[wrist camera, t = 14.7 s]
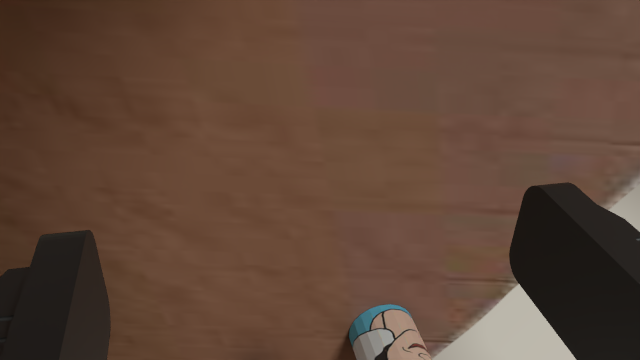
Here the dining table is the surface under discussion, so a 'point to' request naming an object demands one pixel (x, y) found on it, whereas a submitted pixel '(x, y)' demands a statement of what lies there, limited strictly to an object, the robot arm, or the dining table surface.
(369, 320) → the cup
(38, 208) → the dining table surface
